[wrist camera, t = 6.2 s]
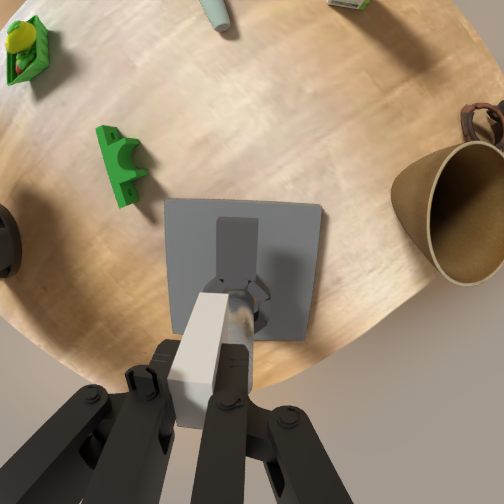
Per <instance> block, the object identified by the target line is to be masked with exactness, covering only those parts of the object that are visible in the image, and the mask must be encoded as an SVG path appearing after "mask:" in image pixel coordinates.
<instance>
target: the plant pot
mask: <svg viewBox="0 0 504 504" xmlns="http://www.w3.org/2000/svg"><path fill="white" fill-rule="evenodd" d="M391 201H392V205H393V207H394V210H395V212H396V214H397V216H398V218H399V220H400V222H401V224H402V226H403V227H404V229H405V230H406V232H407V233H408V235H409V236H410V238H411V239H412V240H413V242H414V243H415V244H416V246H417V247H418V248H419V249H420V251H421V252H422V253H423V254H424V255H425V257H426V258H427V259H428V260H429V261H430V262H431V263H432V264H433V266H434V267H435V268H436V269H437V270H438V271H439V272H440V273H441V274H442V275H443V276H444V277H445V278H446V279H447V280H448V281H450V282H452V283H453V284H456V285H459V286H465V287H466V286H467V287H470V286H475V285H478V284H481V283H483V282H484V281H486V280H488V279H489V278H491V277H492V276H493V275H494V274H495V273H496V272H497V271H498V270H499V269H500V268H501V267H502V265H503V264H504V154H503V153H502V152H501V151H500V150H499V149H497V148H496V147H495V146H493V145H491V144H489V143H486V142H483V141H471V142H466V143H462V144H458V145H455V146H451V147H448V148H445V149H441V150H439V151H436V152H433V153H431V154H429V155H427V156H425V157H423V158H421V159H419V160H418V161H416V162H414V163H413V164H411V165H410V166H408V167H407V168H406V169H405V170H403V171H402V172H401V173H400V174H399V175H398V176H397V177H396V179H395V181H394V182H393V185H392V189H391Z"/></svg>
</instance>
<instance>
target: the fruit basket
mask: <svg viewBox="0 0 504 504" xmlns="http://www.w3.org/2000/svg"><path fill="white" fill-rule="evenodd" d="M7 34H8V36H7V39H6V44H5V47H6V50H7V85H8V86H9V85H13V84H15V83H20V82H25V81H30V80H31V79H32V78H33V77H35V76H36V75H38V74H39V73H40V72H42V71H43V70H44V69H45V68H47V67H48V66H49V59H48V55H49V54H48V38H47V35H48V30H47V29H46V27H45V26H44V25H43V24H42V23H41V21H40V20H39V18H38V16H37V15H35V16H33V17H32V18H31V19H30V20H28V21H27V22H24V21H15V22H13V23H12V24H11V26H10V27H9V28H8V31H7Z"/></svg>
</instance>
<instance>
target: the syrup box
mask: <svg viewBox="0 0 504 504" xmlns="http://www.w3.org/2000/svg"><path fill="white" fill-rule="evenodd" d="M370 2H371V0H327V4H328V5H337V6H342V7H348V8H354V9H359V10H364V9H365V8H366V7H367V6H368V4H369V3H370Z"/></svg>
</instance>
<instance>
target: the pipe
mask: <svg viewBox="0 0 504 504" xmlns="http://www.w3.org/2000/svg"><path fill="white" fill-rule="evenodd" d="M220 294H229V299H228V344H245V346H246V347H247V349H248V351H249V374H248V394H249V393H250V392H251V390H252V383H253V339H254V304H255V302H256V299H255V298H254V297H253V296H252V295H251V294H250V293H249V292H248V291H247V290H246V289H230V288H225V289H224V290H223V291H222V292H221V293H220Z"/></svg>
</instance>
